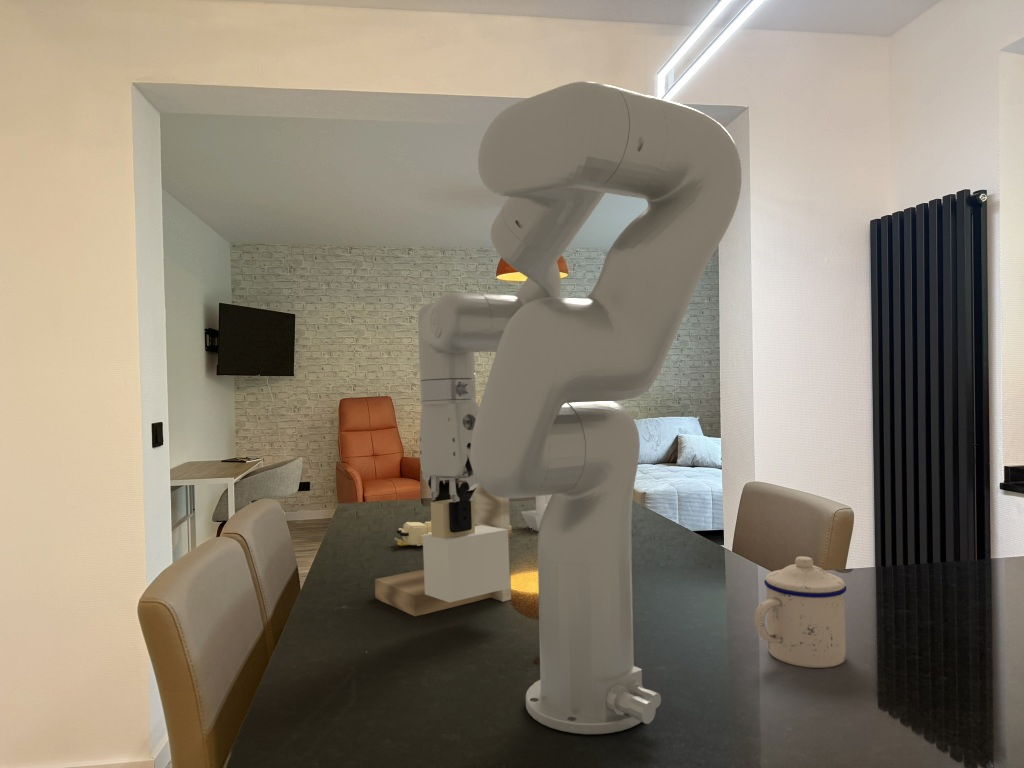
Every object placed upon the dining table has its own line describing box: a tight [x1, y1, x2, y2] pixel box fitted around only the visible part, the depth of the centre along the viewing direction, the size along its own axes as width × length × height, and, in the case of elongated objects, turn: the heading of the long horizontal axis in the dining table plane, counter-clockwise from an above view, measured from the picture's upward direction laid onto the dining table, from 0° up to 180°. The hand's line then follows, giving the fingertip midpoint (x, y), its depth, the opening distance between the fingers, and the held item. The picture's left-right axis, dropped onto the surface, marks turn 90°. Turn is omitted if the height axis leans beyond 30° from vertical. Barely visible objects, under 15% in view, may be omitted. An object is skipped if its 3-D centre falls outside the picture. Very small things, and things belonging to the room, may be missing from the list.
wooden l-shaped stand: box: [374, 475, 512, 617], centre depth 113 cm, size 18×15×22 cm
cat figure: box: [393, 521, 513, 547], centre depth 153 cm, size 10×9×25 cm
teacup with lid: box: [754, 556, 847, 669], centre depth 85 cm, size 12×9×12 cm
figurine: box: [520, 495, 552, 532], centre depth 165 cm, size 7×9×15 cm
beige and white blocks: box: [422, 499, 510, 602], centre depth 98 cm, size 6×10×12 cm, turn 129°
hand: (453, 528), depth 97 cm, fingers closed on beige and white blocks, 3 cm apart
